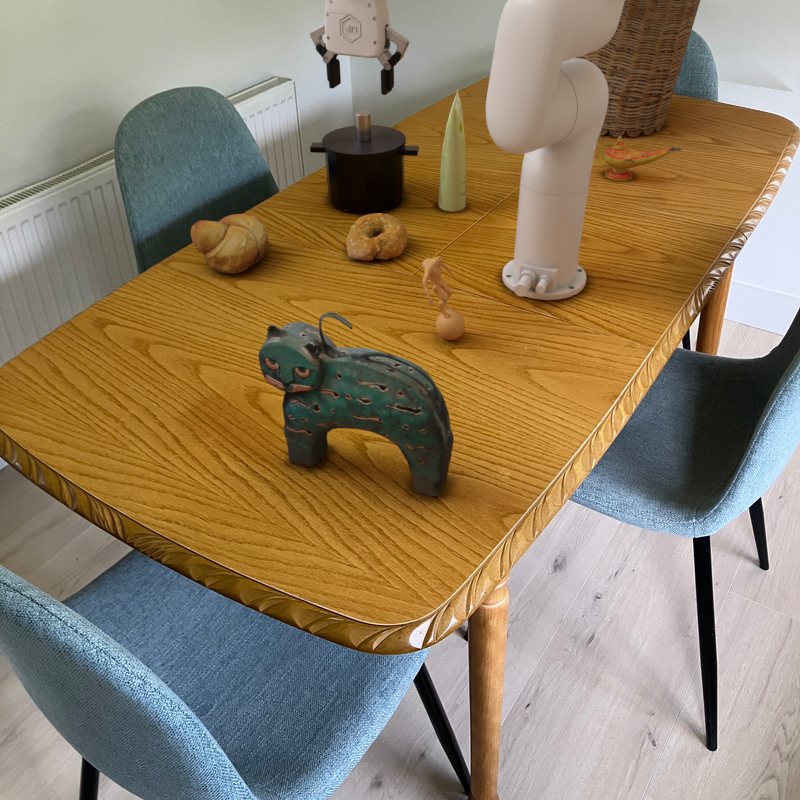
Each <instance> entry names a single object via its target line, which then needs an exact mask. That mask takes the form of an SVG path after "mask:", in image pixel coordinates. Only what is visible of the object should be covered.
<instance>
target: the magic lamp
mask: <svg viewBox="0 0 800 800" xmlns="http://www.w3.org/2000/svg"><path fill="white" fill-rule="evenodd" d="M598 140H599V142H600V143H601V144H602V145H603V146H604V147H608V148H606V149H605V150H603V149H602V148H600V147H599V146H598V144H597V145H596V149H597V150H598V151H600V152H601V153H602V157H601V158H600V159H599V158H597V156H598V154H596V155H595V159H596V161H602V160H603V161H604V162H605V163H606V164H607V165H608V166H610V167H612V168H613V169H610V170H608V171H606V172H605V174H604V175H605V177H606V178H608V179H609V180H613V181H628V180H631V179H632V178H633V174H632V173H631V172H629V171H628V169H631V168H635V167H640V166H643V165H647V164H650V163H653V162H656V161H657V160H660V159H661V158H663V157H665V156H667V155H669V154H671V153H673V152H677V151H678V152H679V151H683V149H682V148H681V147H679V146H678V147H667V148H663V149H659V150H655V151H641V150H638V149H635V148H630V147H627V145H626V143H625V142H624V141H623V136H619V137H617V140H615V141H614V142H611V143H605V142H604V141H603V140H602V136H600V135H599V138H598ZM611 146H612V147H611Z"/></svg>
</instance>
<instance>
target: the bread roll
mask: <svg viewBox="0 0 800 800" xmlns="http://www.w3.org/2000/svg"><path fill="white" fill-rule="evenodd" d="M190 237H191V241H192V243H193V245H194V247H195V249H196V250H197V251H198V252H199V253H201V254H202V256H203V258H204V259H205V261H206V264H207V265H208V266H209V267H210V268H211V269H212V270H214V271H216V272H219V273H223V274H238V273H242V272H244V271H246V270H247V269H249V268H250V267H251V266H252V265H254V264H256V263H258V262H259V261H260V260H262V259H263V258H264V257H265V256H266V253H267V250H268V247H269V244H270V243H269V233H268V231H267V229H266V227H265V225H264V224H263V223H262V222H261V221H260V220H259V219H258V218H257V217H256V216H254V215H250V214H245V213H233V214H230V215H227V216H224V217H223V218H221V219H220V220H218V221H216V220H215V221H214V220H206V219H203V220H201V219H200V220H198V221H196V222H195V223H193V225H192V226H191V229H190Z"/></svg>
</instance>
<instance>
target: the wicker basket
mask: <svg viewBox="0 0 800 800" xmlns="http://www.w3.org/2000/svg"><path fill="white" fill-rule="evenodd" d="M700 3H701V0H625V2H624V6H623V9H622V13H621V17H620V20H619V24H618V27H617V29H616V32H615V34H614V35H613V37H612V38H611V40H610V41H609V42H608V43H607V44H606V45H605V46H603V47H602V48H600V49H598V50H596V51H594V52H591V53H588V54H585V55H582V56H579V57H576V58H580V59H584V60H588V61H590V62H592V63H593V64H595V65H596V66H597V67H598V68H599V69H600V70H601V71H602V73H603V75H604V76H605V79H606V81H607V85H608V92H609V99H608V107H607V112H606V116H605V119H604V123H603V126H602V129H601V132H600V136H601V137H603V136H604V135H606V134H607V133H608V132H609V134H610V136H611V137H614V138H618V137H619V136H621V137H623V136H624V135H625V133H626V134H627V136H628V137H630V138H635V137H637V136H639V135H640V134H641V132H642V134H643V135H645V136H648V135H650V134H652V133H653V132H654V131H655V132H659V131H660V130H661V128H662V127H664V125H665V121H666V119H667V115H668V111H669V108H670V105H671V102H672V99H673V96H674V92H675V88H676V85H677V81H678V78H679V75H680V71H681V68H682V64H683V61H684V58H685V54H686V51H687V47H688V44H689V41H690V37H691V34H692V30H693V26H694V23H695V20H696V17H697V13H698V9H699V7H700Z"/></svg>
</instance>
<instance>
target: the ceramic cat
mask: <svg viewBox="0 0 800 800" xmlns="http://www.w3.org/2000/svg"><path fill="white" fill-rule="evenodd" d="M326 318H333V319H335V320H337V321H339V322H340V323H342V324H343V325H345V326H346V327H348V328H349V329H350V330H353V328H354V327H353V326H352V323H351V322H349V320H348V319H346V318H345V317H344V316H342V315H340V314H338V313H336V312H326V313H323V314H322V315H321V316H320V317H319V320H318V327H316V326H314V325H313V324H310V323H307V322H305V321H304V322H303V321H296V322H295V321H294V322H289V323H287V324H285V325H283V326H282V327H278V326H277V325H274V324H271V325H269V326H268V327H267V329H266V330H267V333H266V340H265V342H264V343H263V344H262V345H261V347H260V350H259V351H258V355H257V357H258V363H259V367H260V370H261V373H262V376H263V378H264V380H265V381H266V382H267V383H268V384H269V385H270V386H272V387H274V388H276V389H277V390H279V391H281V392H284V395H283V399H282V404H281V405H282V406H281V407H282V413H283V419H284V425H283V434H284V437H285V440H286V444H287V451H288V458H289V459H288V460H289V463H290V464H293V465H294V464H295V465H298V466H302V467H306V468H313V467H315V466H317V465H318V464H319V463H320V462H321V460H322V459H323V457H324V455H325V453H326V452H327V451H328V450H329V441H328V433H330V432H331V431H332V430H337V429H348V430H359V431H360V430H361V431H365V432H371V433H374V434H376V435H378V436H380V437H383V438H384V439H386V440H388V441H390V442H392V443H393V444H394V445H396V447H397V448H398V449H399V450H400V452H401V454H402V456H403V457H404V459H405V460H406V464H407V465H408V468H409V472H410V473H411V477H412V481H413V486H414V490H415V492H416V493H419V494H420V495H423V496H428V497H429V496H430V497H439V496H440V494H441V493H442V490H443V488H444V485H445V484H446V482H447V481H448V475H449V468H450V463H451V459H452V454H453V448H454V441H455V440H454V434H453V431H452V428H451V419H450V418H451V417H450V414H449V413H450V412H449V410H448V407H447V403H446V401H445V398H444V396H443V394H442V391H440V389H439V388H438V386H437V384H436V383H435V381H434V379H433V378H432V377H431V376H430V375H429V373H428V372H427V371H426V370H425V369H423V367H421V365H418V364H416V363H414V362H412V361H411V360H408V359H406V358H403V357H401V356H398V355H394V354H391V353H387V352H383V351H380V350H376V349H372V348H366V347H341V346H339V345H337V344H335V343H334V342H333V340H332V339H331V338H330V337H329V336H328V335H327V334H325V333H324V332H323V329H322V322H323V320H324V319H326Z"/></svg>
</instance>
